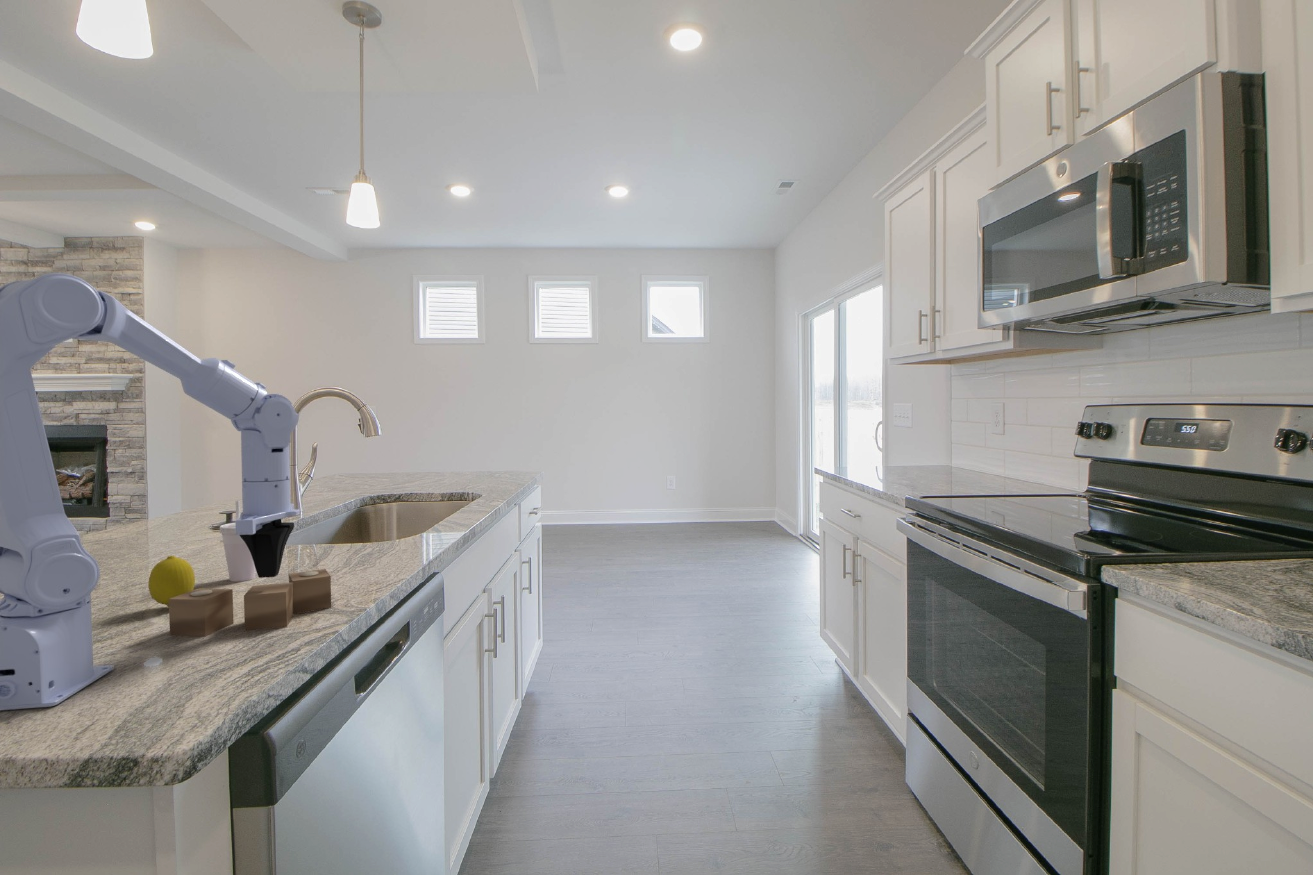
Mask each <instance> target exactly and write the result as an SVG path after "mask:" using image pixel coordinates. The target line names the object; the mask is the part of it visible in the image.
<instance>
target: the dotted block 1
mask: <svg viewBox="0 0 1313 875" xmlns="http://www.w3.org/2000/svg"><path fill="white" fill-rule="evenodd" d="M233 592H234V591H233V588H202V587H201V588H196V589H193V591H190V592H187V593H184V594H182V595H179V596H176V597H173V598H170V599H169V607H168V616H169V618H168V620H169V636H172V637H174V636H175V637H177V636H178V637H203V638H204V637H206V638H207V637H208V636H210V635H212V634H215V633H216V632H218V631H221V630H222V629H225V628H227V627H229V626H232V625H234V596H233V594H234V593H233Z"/></svg>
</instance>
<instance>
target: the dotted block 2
mask: <svg viewBox="0 0 1313 875" xmlns="http://www.w3.org/2000/svg"><path fill="white" fill-rule="evenodd" d="M331 578H332V577H331V574H330V573H329V572H328V570H326V568H323V569H322V568H321V569H316V570H315V569H314V570H307V571H299V572H294V573H288V583H292V582H293V615H296V614H301V613H309V612H313V610H315V611H319V610H320V609H321V610H324V609H323V608H327V609H332V585H331V584H332V583H331V582H332V580H331ZM308 611H309V612H308Z"/></svg>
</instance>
